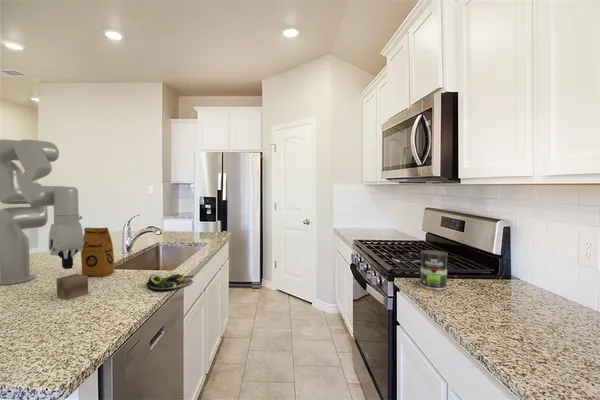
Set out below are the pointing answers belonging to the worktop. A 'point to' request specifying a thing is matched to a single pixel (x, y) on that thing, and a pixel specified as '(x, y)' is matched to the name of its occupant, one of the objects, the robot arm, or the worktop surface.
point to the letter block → (72, 286)
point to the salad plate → (168, 282)
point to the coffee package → (97, 252)
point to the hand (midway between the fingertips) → (67, 268)
